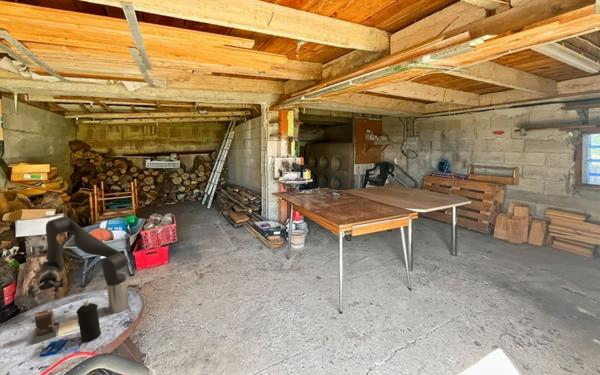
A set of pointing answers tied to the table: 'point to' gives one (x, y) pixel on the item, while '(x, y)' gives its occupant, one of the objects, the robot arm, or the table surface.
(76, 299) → the table surface
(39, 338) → the open rectangular frame
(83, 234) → the robot arm
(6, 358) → the table surface
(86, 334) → the aerosol can
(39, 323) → the box
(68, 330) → the pad
